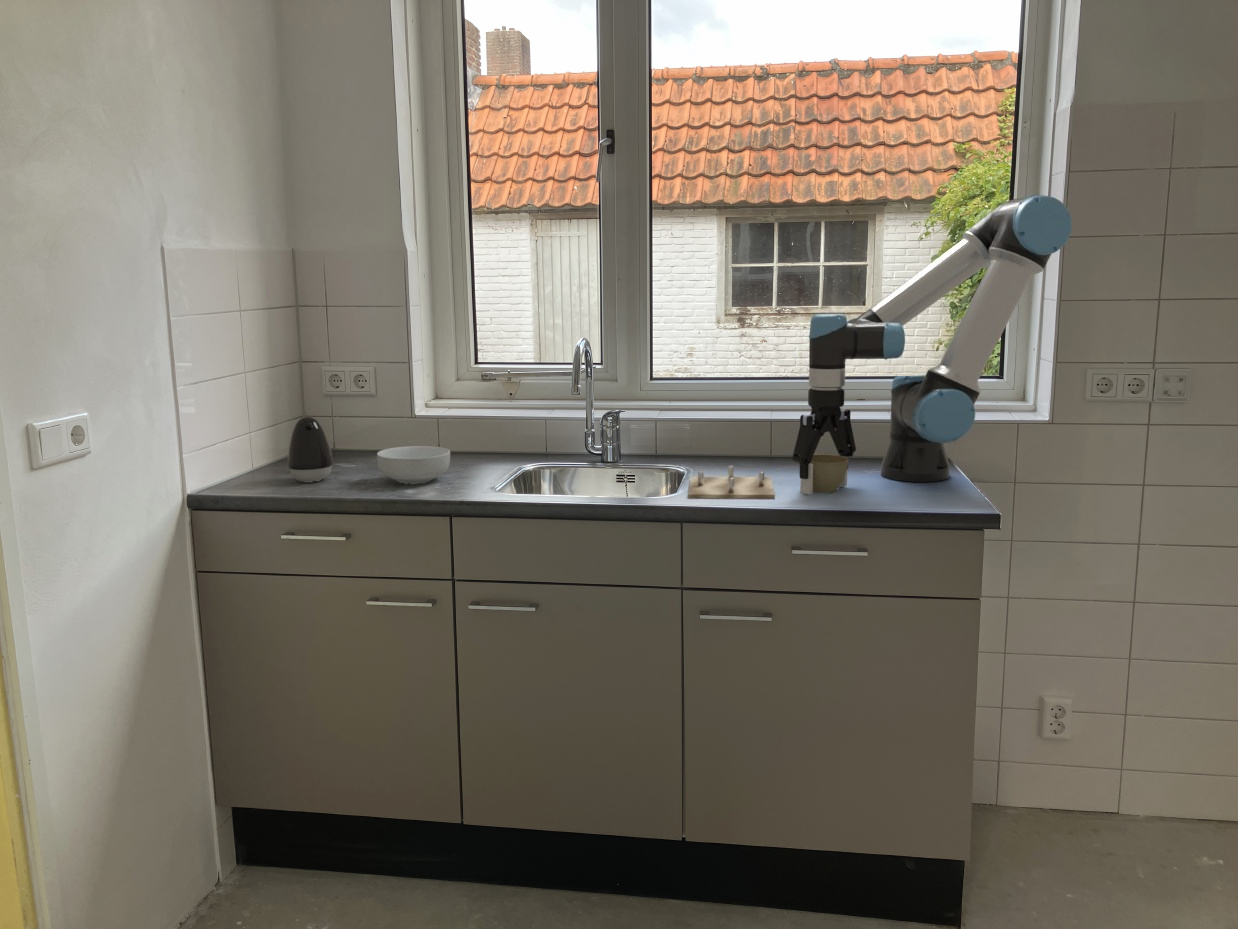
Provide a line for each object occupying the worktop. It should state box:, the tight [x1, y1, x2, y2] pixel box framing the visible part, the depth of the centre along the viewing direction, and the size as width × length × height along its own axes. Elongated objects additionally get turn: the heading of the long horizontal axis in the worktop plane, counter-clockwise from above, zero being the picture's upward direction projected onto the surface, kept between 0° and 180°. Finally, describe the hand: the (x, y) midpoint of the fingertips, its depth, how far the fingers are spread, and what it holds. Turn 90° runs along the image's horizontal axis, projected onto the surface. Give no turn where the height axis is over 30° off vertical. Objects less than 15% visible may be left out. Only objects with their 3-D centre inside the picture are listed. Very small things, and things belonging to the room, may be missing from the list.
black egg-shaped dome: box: [287, 416, 334, 482], centre depth 235 cm, size 10×10×15 cm
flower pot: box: [806, 453, 850, 494], centre depth 216 cm, size 10×10×7 cm
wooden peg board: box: [687, 465, 776, 500], centre depth 219 cm, size 18×18×4 cm
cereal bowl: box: [376, 445, 451, 484], centre depth 233 cm, size 17×17×7 cm
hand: (823, 489), depth 217 cm, fingers open, 11 cm apart
